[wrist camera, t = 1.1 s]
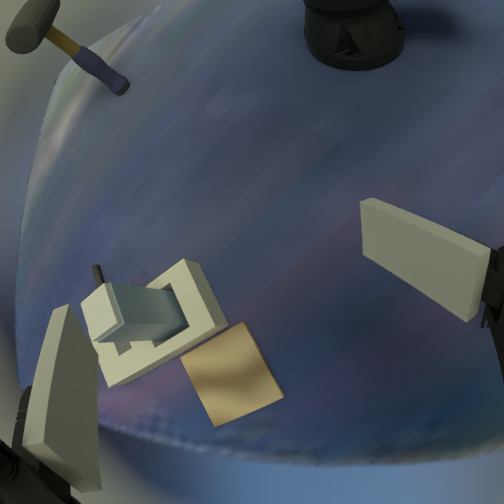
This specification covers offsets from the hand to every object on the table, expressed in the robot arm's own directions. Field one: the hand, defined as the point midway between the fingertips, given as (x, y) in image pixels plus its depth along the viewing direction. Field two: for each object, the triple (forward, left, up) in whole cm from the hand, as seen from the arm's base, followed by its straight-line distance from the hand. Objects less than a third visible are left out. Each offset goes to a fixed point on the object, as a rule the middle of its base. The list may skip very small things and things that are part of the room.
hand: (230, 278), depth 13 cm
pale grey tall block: (-8, -17, -23) cm, 30 cm away
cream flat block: (-13, -21, -23) cm, 34 cm away
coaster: (+2, -14, -23) cm, 27 cm away
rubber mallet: (-55, -11, -24) cm, 61 cm away
